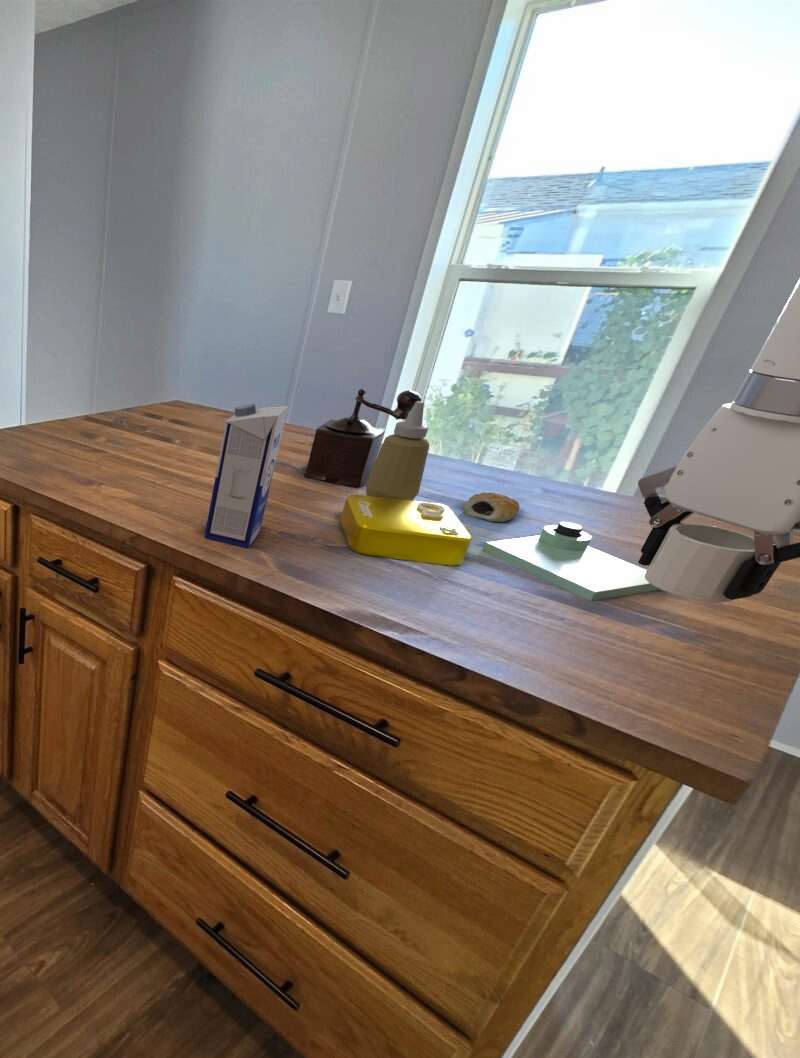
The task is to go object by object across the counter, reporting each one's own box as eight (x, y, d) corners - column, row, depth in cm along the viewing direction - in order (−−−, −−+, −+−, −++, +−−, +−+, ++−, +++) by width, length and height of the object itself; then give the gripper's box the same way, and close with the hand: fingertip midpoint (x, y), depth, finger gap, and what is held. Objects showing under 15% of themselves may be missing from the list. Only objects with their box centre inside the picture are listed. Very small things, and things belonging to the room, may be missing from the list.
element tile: (338, 517, 109) (346, 489, 107) (438, 529, 105) (449, 501, 103) (350, 553, 97) (360, 523, 94) (465, 568, 93) (478, 538, 91)
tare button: (582, 537, 97) (587, 528, 96) (568, 539, 96) (573, 530, 95) (564, 530, 99) (568, 520, 98) (550, 532, 98) (554, 522, 98)
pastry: (485, 503, 116) (494, 482, 114) (527, 516, 111) (537, 495, 109) (457, 513, 112) (465, 491, 110) (499, 527, 107) (509, 505, 105)
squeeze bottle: (407, 520, 108) (445, 411, 99) (354, 508, 113) (387, 402, 104) (415, 506, 114) (452, 401, 105) (365, 495, 118) (396, 394, 109)
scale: (668, 588, 89) (680, 569, 87) (590, 601, 85) (601, 581, 84) (553, 540, 102) (562, 523, 101) (481, 550, 99) (489, 532, 97)
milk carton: (248, 548, 98) (278, 414, 88) (203, 538, 101) (227, 407, 91) (259, 532, 103) (289, 404, 93) (217, 523, 106) (241, 397, 96)
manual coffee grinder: (301, 477, 127) (325, 381, 118) (317, 464, 134) (341, 372, 125) (389, 496, 118) (422, 394, 109) (401, 480, 126) (433, 384, 117)
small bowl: (751, 597, 64) (784, 546, 61) (703, 606, 62) (735, 555, 60) (674, 567, 70) (701, 519, 67) (628, 575, 68) (653, 527, 65)
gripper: (977, 419, 50) (832, 616, 59) (711, 376, 65) (626, 540, 74) (915, 426, 49) (775, 629, 58) (656, 381, 63) (576, 548, 72)
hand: (692, 577), depth 66 cm, fingers closed on small bowl, 6 cm apart
